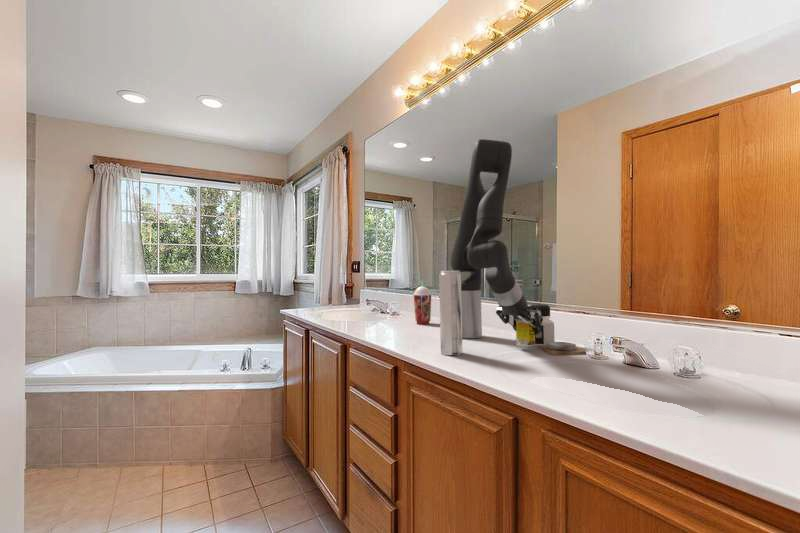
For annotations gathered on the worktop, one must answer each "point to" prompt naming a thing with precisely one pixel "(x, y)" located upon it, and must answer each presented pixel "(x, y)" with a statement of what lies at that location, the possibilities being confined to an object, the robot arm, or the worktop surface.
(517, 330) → the supplement bottle
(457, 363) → the worktop surface
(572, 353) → the hub
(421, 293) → the smoothie
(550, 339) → the container
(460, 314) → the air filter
